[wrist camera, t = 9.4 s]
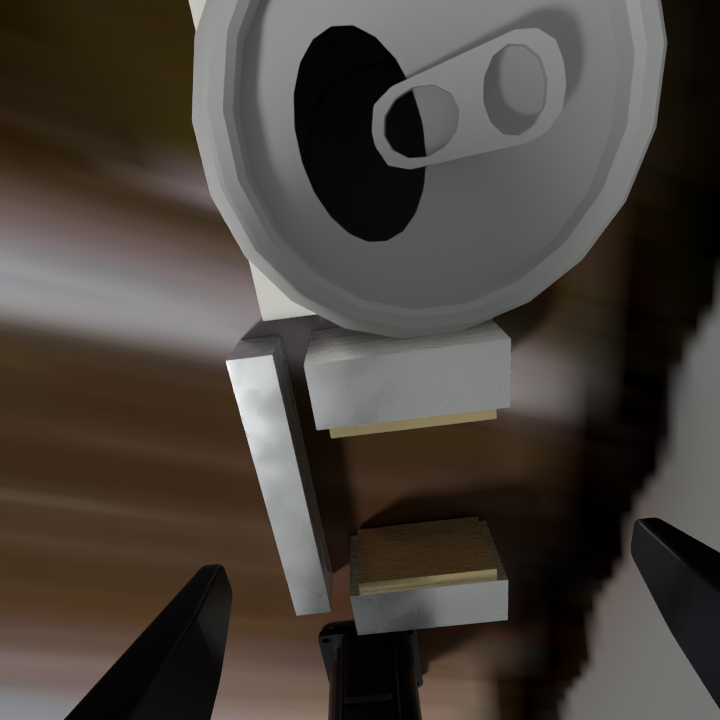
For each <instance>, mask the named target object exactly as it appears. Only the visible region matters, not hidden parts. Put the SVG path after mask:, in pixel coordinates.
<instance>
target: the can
mask: <svg viewBox="0 0 720 720" xmlns="http://www.w3.org/2000/svg"><path fill="white" fill-rule="evenodd" d="M666 48H667V38H666V31H665V24H664V18H663V11H662V4H661V0H206V3H205V6H204V9H203V12H202V15H201V18H200V21H199V24H198V27H197V30H196V33H195V43H194V74H193V105H192V122H193V126H194V130H195V135H196V139H197V143H198V147H199V151H200V155H201V159H202V163H203V167H204V171H205V175H206V179H207V183H208V187H209V191H210V195H211V197H212V199H213V201H214V202H215V204H216V206H217V208H218V209H219V211H220V213H221V215H222V216H223V218H224V220H225V222H226V224H227V225H228V227H229V229H230V231H231V232H232V234H233V236H234V238H235V239H236V241H237V243H238V245H239V246H240V248H241V250H242V252H243V253H244V255H245V257H246V258H247V259H248V260H249V261H250V262H251V263H253V264H254V265H255V266H256V267H257V268H258V269H259V270H260V271H261V272H262V273H263V274H264V275H265V276H266V277H267V278H268V279H269V280H270V281H271V282H272V283H273V284H274V285H275V286H276V287H277V288H278V289H279V290H280V291H281V292H283V293H284V294H285V295H286V296H287V297H288V298H289V299H290V300H291V301H292V302H294V303H296V304H298V305H300V306H302V307H304V308H306V309H308V310H310V311H312V312H314V313H316V314H318V315H319V316H321V317H323V318H325V319H327V320H329V321H331V322H333V323H335V324H337V325H339V326H341V327H343V328H345V329H351V330H356V331H362V332H368V333H373V334H379V335H385V336H390V337H396V338H410V337H419V336H427V335H435V334H443V333H452V332H460V331H462V330H465V329H467V328H469V327H472V326H474V325H477V324H479V323H481V322H484V321H486V320H488V319H491V318H493V317H495V316H498V315H500V314H502V313H505V312H507V311H509V310H512V309H514V308H516V307H519V306H521V305H523V304H526V303H528V302H530V301H531V300H533V299H534V298H535V297H536V296H538V295H539V294H540V293H541V292H542V291H544V290H545V289H546V288H547V287H549V286H550V285H551V284H552V283H554V282H555V281H556V280H557V279H559V278H560V277H561V276H562V275H564V274H565V273H566V272H567V271H569V270H570V269H571V268H572V267H574V266H575V265H576V264H577V263H579V262H580V261H581V260H582V259H583V258H584V257H585V255H586V254H587V253H588V251H589V250H590V249H591V247H592V246H593V245H594V243H595V242H596V241H597V239H598V238H599V236H600V235H601V234H602V232H603V231H604V230H605V228H606V227H607V226H608V224H609V223H610V222H611V220H612V219H613V218H614V216H615V215H616V214H617V212H618V211H619V210H620V208H621V207H622V206H623V204H624V203H625V202H626V200H627V197H628V195H629V192H630V190H631V187H632V185H633V182H634V180H635V178H636V175H637V173H638V170H639V168H640V165H641V163H642V160H643V158H644V156H645V153H646V151H647V148H648V146H649V143H650V141H651V138H652V136H653V134H654V131H655V129H656V124H657V117H658V109H659V101H660V94H661V86H662V78H663V71H664V63H665V56H666Z"/></svg>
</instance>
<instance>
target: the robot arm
mask: <svg viewBox="0 0 720 720" xmlns="http://www.w3.org/2000/svg"><path fill="white" fill-rule="evenodd" d="M631 554H632V557H633V559H634V561H635V563H636V565H637V567H638V569H639V571H640V573H641V575H642V577H643V579H644V581H645V582H646V585H647V587H648V589H649V591H650V592H651V594H652V596H653V598H654V600H655V602H656V604H657V606H658V608H659V610H660V612H661V614H662V616H663V618H664V620H665V622H666V623H667V625H668V627H669V629H670V631H671V633H672V634H673V636H674V637H675V639H676V641H677V642H678V644H679V646H680V647H681V649H682V651H683V652H684V654H685V655H686V657H687V658H688V660H689V661H690V663H691V664H692V666H693V668H694V669H695V671H696V672H697V674H698V676H699V677H700V679H701V681H702V682H703V684H704V685H705V687H706V688H707V690H708V691H709V693H710V695H711V696H712V698H713V699H714V701H715V703H716V704H717V705H718V707H719V709H720V553H719V552H717V551H716V550H714V549H712V548H711V547H709V546H707V545H705V544H704V543H702V542H700V541H698V540H696V539H694V538H693V537H691V536H689V535H688V534H686V533H684V532H682V531H680V530H679V529H677V528H675V527H673V526H672V525H670V524H668V523H666V522H665V521H663V520H661V519H658V518H645V519H638V520H637V521H636V522H635V524H634V530H633V536H632V542H631ZM231 605H232V589H231V586H230V583H229V580H228V577H227V574H226V571H225V569H224V567H223V565H221V564H214V565H206V566H203V567H202V568H201V569H200V570H199V571H198V572H197V573H196V574H195V575H194V576H193V577H192V578H191V580H190V581H189V582H188V583H187V584H186V585H185V586H184V587H183V588H182V590H181V591H180V592H179V593H178V594H177V595H176V596H175V597H174V598H173V600H172V601H171V602H170V603H169V604H168V605H167V606H166V607H165V608H164V609H163V611H162V612H161V613H160V614H159V615H158V616H157V617H156V618H155V619H154V621H153V622H152V623H151V624H150V625H149V626H148V627H147V628H146V629H145V631H144V632H143V633H142V634H141V635H140V636H139V637H138V638H137V639H136V640H135V642H134V643H133V644H132V645H131V646H130V647H129V648H128V649H127V650H126V652H125V653H124V654H123V655H122V656H121V657H120V658H119V659H118V660H117V662H116V663H115V664H114V665H113V666H112V667H111V668H110V669H109V670H108V671H107V673H106V674H105V675H104V676H103V677H102V678H101V679H100V680H99V681H98V683H97V684H96V685H95V686H94V687H93V688H92V689H91V690H90V691H89V693H88V694H87V695H86V696H85V697H84V698H83V699H82V700H81V701H80V702H79V704H78V705H77V706H76V707H75V708H74V709H73V710H72V711H71V712H70V714H69V715H68V716H67V717H66V718H65V719H64V720H210V719H211V715H212V711H213V707H214V703H215V699H216V695H217V691H218V686H219V682H220V677H221V671H222V665H223V659H224V652H225V645H226V639H227V632H228V625H229V618H230V612H231ZM319 645H320V649H321V652H322V656H323V660H324V664H325V668H326V672H327V676H328V680H329V683H330V690H329V712H328V720H422V716H421V708H420V701H419V693H418V687H420V686H422V685H423V680H422V671H421V662H420V654H419V645H418V636H417V629H414V630H404V631H394V632H385V633H375V634H365V635H358V634H357V629H356V627H348V628H339V629H329V630H323V631H321V632H320V633H319Z"/></svg>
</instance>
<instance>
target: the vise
mask: <svg viewBox="0 0 720 720" xmlns="http://www.w3.org/2000/svg"><path fill="white" fill-rule="evenodd" d="M226 364H227V368H228V371H229V375H230V378H231V382H232V386H233V389H234V393H235V396H236V400H237V403H238V407H239V411H240V414H241V418H242V421H243V425H244V429H245V432H246V436H247V439H248V443H249V447H250V450H251V454H252V457H253V461H254V464H255V468H256V472H257V475H258V479H259V482H260V486H261V490H262V493H263V497H264V500H265V504H266V508H267V511H268V515H269V518H270V522H271V525H272V529H273V533H274V536H275V540H276V543H277V547H278V551H279V554H280V558H281V561H282V565H283V569H284V572H285V576H286V579H287V583H288V586H289V590H290V594H291V597H292V601H293V604H294V608H295V612H296V615H307V614H316V613H326V612H331V608H332V587H333V572H332V567H331V562H330V558H329V553H328V549H327V544H326V539H325V535H324V530H323V525H322V521H321V516H320V512H319V507H318V502H317V498H316V493H315V488H314V484H313V479H312V475H311V470H310V465H309V461H308V456H307V451H306V447H305V442H304V438H303V433H302V428H301V424H300V419H299V414H298V410H297V405H296V401H295V396H294V391H293V387H292V382H291V378H290V373H289V368H288V364H287V359H286V354H285V350H284V345H283V341H282V336H281V335H274V336H266V337H258V338H251V339H243V340H239V342H238V343H237V345H236V346H235V348H234V349H233V351H232V352H231V354H230V355H229V357H228V358H227V360H226ZM304 369H305V374H306V379H307V384H308V389H309V394H310V399H311V404H312V409H313V414H314V419H315V424H316V429H317V430H324V429H329V430H330V435H331V438H338V437H346V436H355V435H363V434H371V433H380V432H388V431H396V430H405V429H413V428H422V427H430V426H438V425H447V424H455V423H463V422H472V421H480V420H488V419H496V409H498V408H507V407H510V372H511V339H510V338H509V336H508V335H507V334H506V333H505V332H504V331H503V330H502V329H501V328H500V327H499V326H498V325H497V324H496V323H495V322H494V321H493V320H492V319H488V320H486V321H484V322H481V323H479V324H477V325H474V326H472V327H469V328H467V329H465V330H462V331H460V332H452V333H443V334H435V335H427V336H419V337H410V338H396V337H390V336H385V335H379V334H373V333H368V332H362V331H356V330H351V329H345V328H343V327H336V328H328V329H320V330H313V331H312V334H311V338H310V342H309V346H308V350H307V354H306V358H305V362H304ZM350 599H351V604H352V609H353V614H354V619H355V624H356V629H357V634H358V635H365V634H375V633H385V632H394V631H404V630H414V629H424V628H433V627H443V626H453V625H463V624H472V623H482V622H492V621H501V620H508V578H507V575H506V573H505V570H504V568H503V565H502V562H501V560H500V557H499V555H498V552H497V549H496V547H495V544H494V542H493V539H492V536H491V534H490V531H489V529H488V526H487V523H486V521H479V519H478V516H476V517H467V518H458V519H449V520H440V521H431V522H422V523H413V524H404V525H395V526H386V527H377V528H368V529H359V530H357V535H352V536H350Z"/></svg>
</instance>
